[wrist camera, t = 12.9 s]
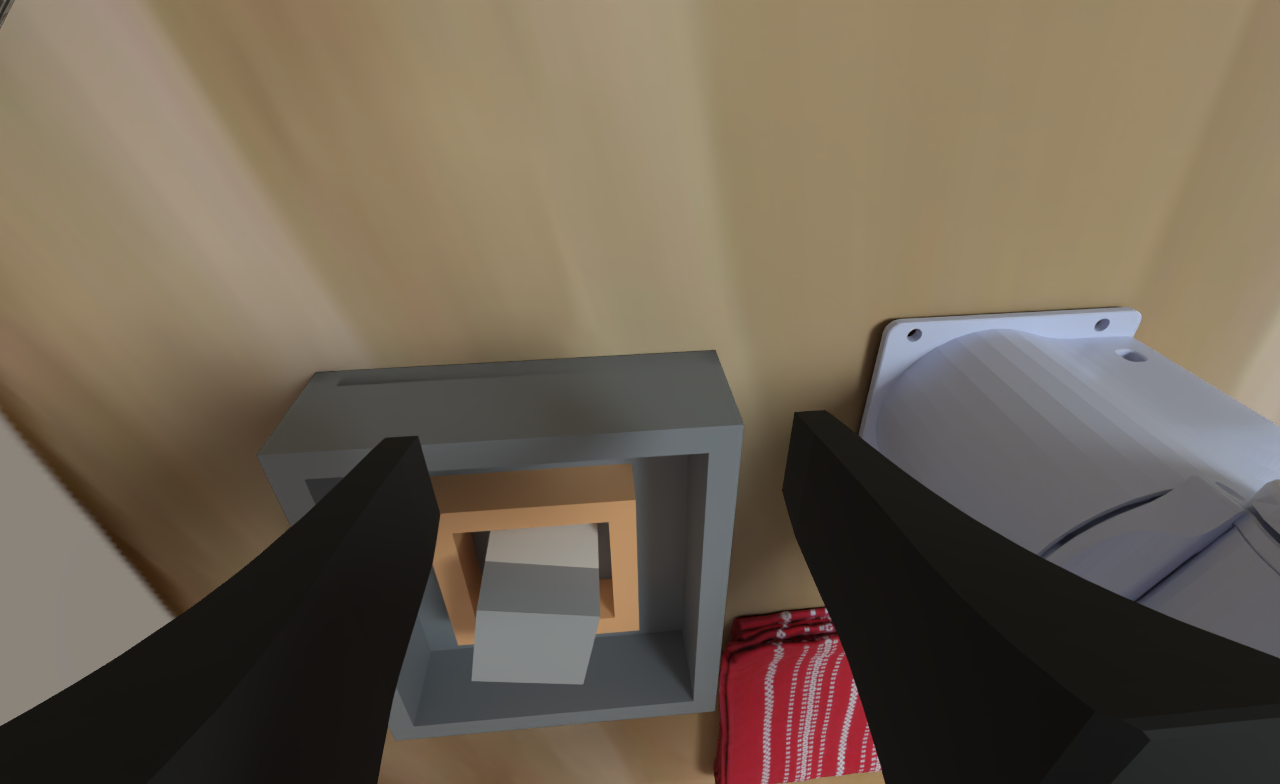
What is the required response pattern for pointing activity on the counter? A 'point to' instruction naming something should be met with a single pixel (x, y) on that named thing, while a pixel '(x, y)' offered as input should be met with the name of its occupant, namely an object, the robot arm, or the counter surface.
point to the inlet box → (547, 517)
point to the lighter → (4, 9)
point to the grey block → (538, 605)
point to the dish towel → (789, 703)
